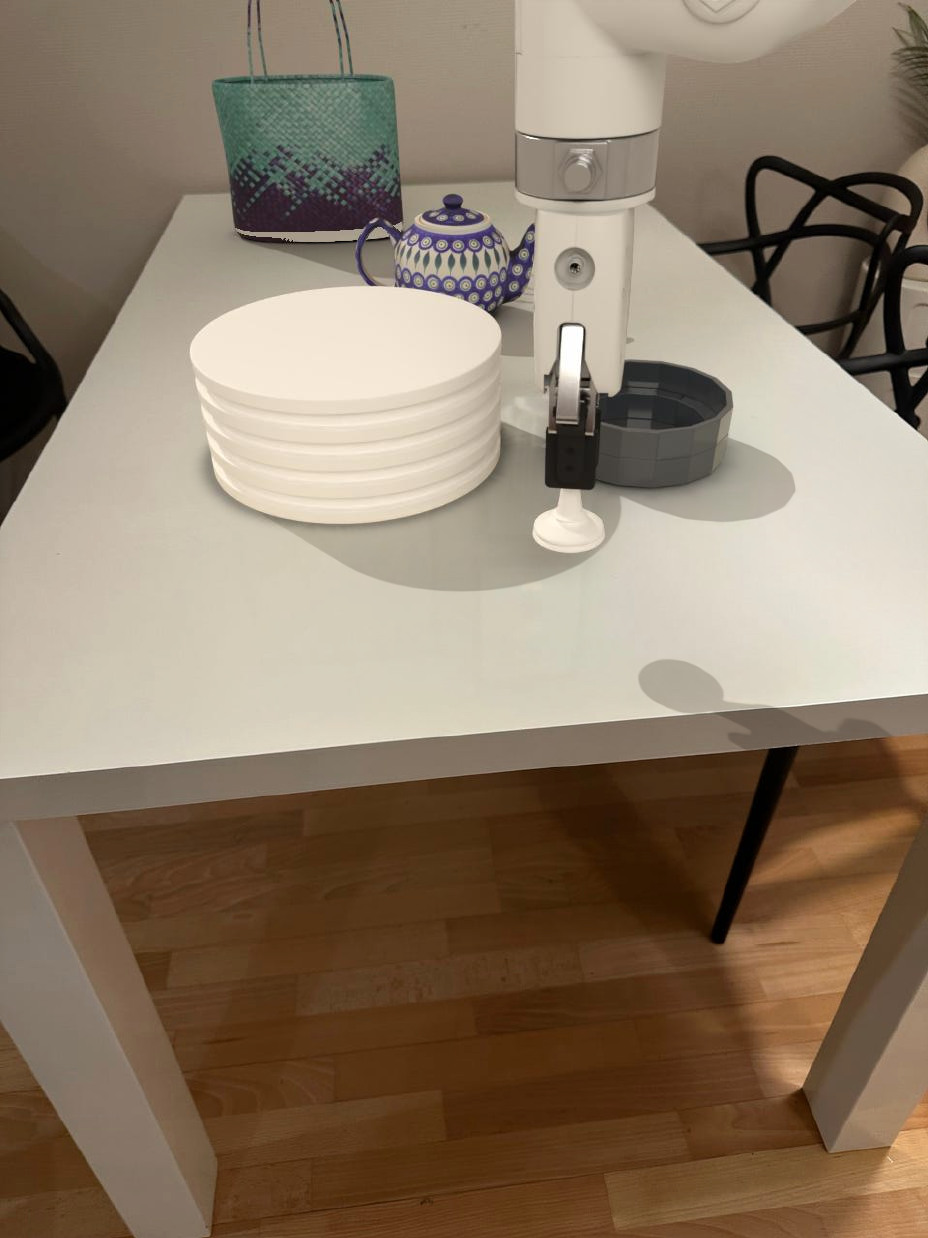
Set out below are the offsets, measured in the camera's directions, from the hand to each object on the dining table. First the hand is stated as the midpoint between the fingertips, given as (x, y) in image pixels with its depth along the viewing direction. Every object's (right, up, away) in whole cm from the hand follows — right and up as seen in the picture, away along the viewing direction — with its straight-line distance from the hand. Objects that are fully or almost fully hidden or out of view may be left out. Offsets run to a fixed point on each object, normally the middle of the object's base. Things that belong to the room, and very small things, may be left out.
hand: (572, 474), depth 58 cm
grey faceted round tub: (+10, +7, +29) cm, 31 cm away
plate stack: (-17, +7, +30) cm, 35 cm away
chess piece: (0, -4, +3) cm, 5 cm away
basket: (-31, +55, +91) cm, 111 cm away
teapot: (-8, +31, +60) cm, 68 cm away
